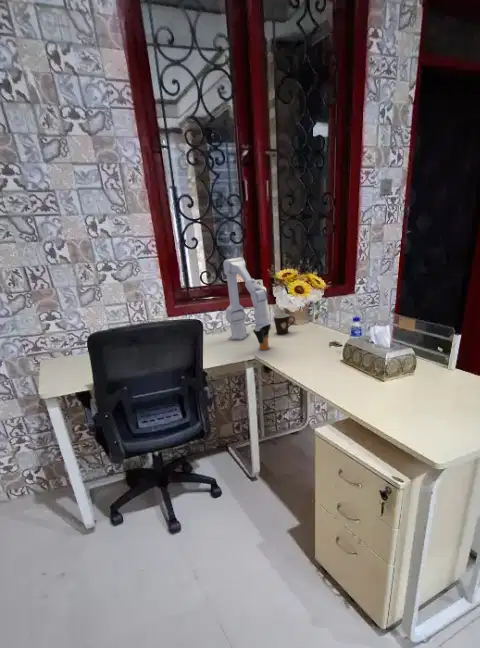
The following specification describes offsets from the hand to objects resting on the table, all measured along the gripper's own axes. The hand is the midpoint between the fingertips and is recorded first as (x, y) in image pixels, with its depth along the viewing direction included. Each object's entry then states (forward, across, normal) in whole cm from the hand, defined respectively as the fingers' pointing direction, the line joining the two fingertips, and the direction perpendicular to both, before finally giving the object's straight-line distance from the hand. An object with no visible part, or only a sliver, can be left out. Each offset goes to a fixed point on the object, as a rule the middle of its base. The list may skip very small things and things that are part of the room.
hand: (263, 340), depth 215 cm
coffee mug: (+4, +27, -3) cm, 28 cm away
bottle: (+4, +35, +13) cm, 38 cm away
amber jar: (+4, 0, 0) cm, 4 cm away
